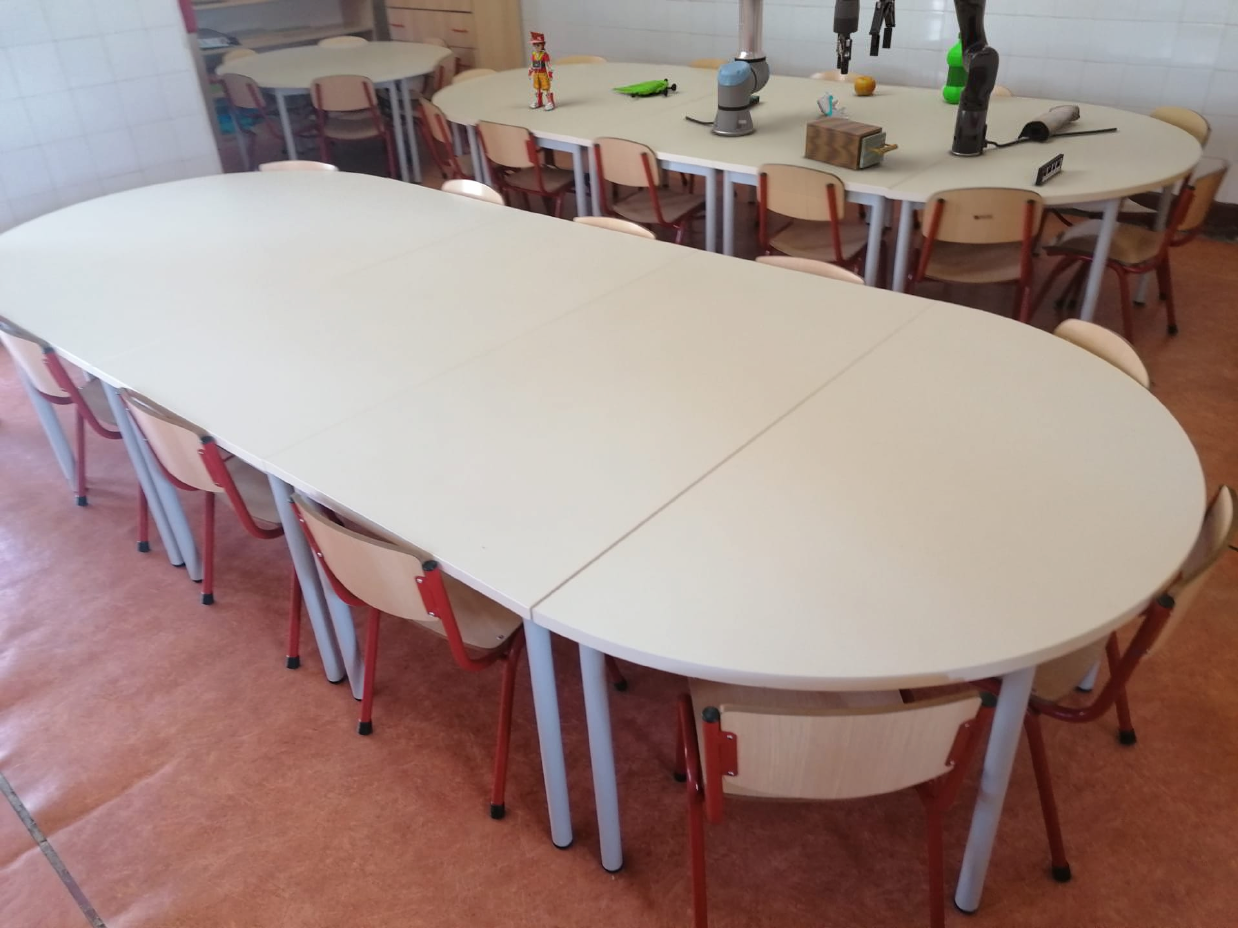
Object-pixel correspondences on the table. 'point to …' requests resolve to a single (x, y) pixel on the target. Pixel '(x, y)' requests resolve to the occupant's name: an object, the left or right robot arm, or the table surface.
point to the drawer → (873, 149)
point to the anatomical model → (831, 107)
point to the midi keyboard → (1049, 169)
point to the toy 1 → (541, 71)
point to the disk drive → (753, 100)
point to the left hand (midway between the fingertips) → (880, 52)
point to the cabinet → (836, 141)
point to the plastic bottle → (955, 74)
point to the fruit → (864, 85)
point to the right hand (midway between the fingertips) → (842, 71)
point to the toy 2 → (648, 88)
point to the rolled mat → (1049, 122)
